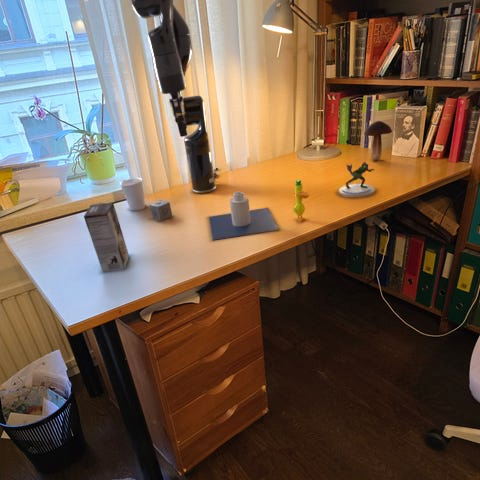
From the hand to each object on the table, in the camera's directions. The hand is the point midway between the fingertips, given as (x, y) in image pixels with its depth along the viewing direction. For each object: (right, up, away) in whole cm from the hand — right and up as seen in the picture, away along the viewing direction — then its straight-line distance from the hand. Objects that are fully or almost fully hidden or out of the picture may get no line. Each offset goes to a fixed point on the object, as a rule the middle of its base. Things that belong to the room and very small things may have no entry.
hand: (183, 132), depth 127 cm
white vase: (+18, -27, +4) cm, 32 cm away
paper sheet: (+18, -27, +4) cm, 33 cm away
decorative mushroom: (+74, +9, +46) cm, 88 cm away
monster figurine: (+58, -13, +17) cm, 62 cm away
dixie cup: (-21, -15, +30) cm, 40 cm away
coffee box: (-18, -42, -10) cm, 47 cm away
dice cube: (-10, -22, +18) cm, 30 cm away
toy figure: (+36, -27, +1) cm, 45 cm away
